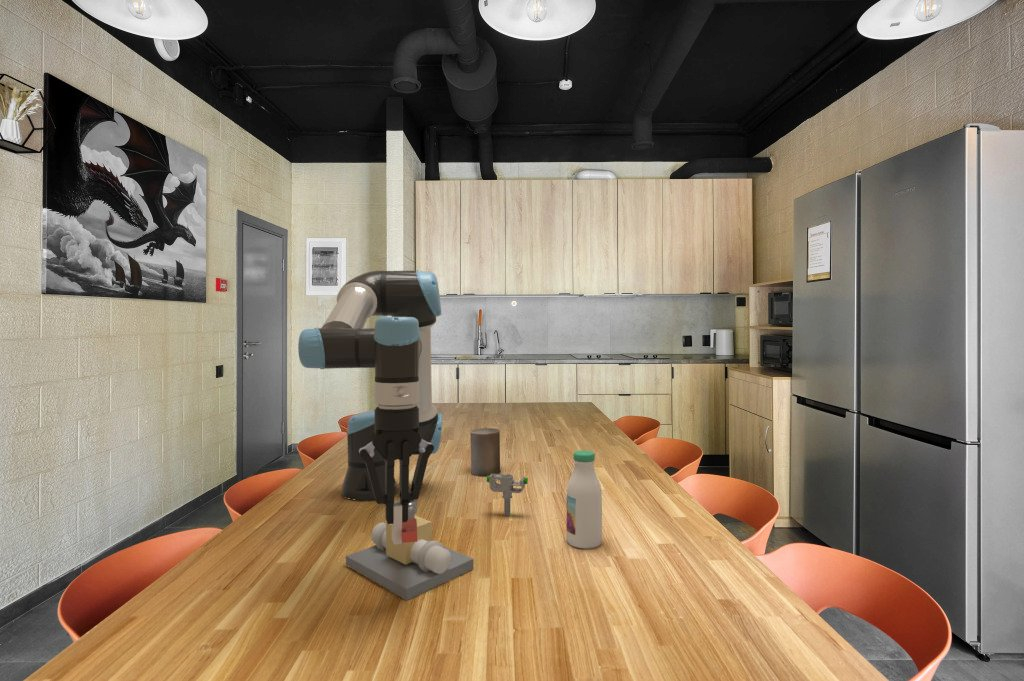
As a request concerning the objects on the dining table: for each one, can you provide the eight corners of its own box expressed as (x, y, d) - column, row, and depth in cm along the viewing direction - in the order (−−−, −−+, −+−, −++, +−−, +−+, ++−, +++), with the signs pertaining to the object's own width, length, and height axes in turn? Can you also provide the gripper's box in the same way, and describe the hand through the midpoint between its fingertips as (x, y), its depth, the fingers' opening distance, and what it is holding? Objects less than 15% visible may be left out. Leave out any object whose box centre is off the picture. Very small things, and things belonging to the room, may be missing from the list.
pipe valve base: (346, 565, 105) (345, 512, 105) (411, 541, 117) (410, 493, 117) (406, 600, 92) (406, 539, 92) (473, 568, 104) (473, 514, 104)
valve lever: (400, 510, 106) (400, 500, 106) (416, 509, 106) (416, 499, 106) (399, 543, 89) (399, 532, 89) (419, 542, 90) (419, 530, 90)
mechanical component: (526, 518, 131) (526, 478, 130) (486, 515, 133) (485, 476, 132) (528, 514, 134) (528, 475, 133) (489, 511, 136) (488, 473, 135)
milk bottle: (604, 537, 119) (604, 449, 118) (598, 551, 111) (598, 457, 111) (570, 533, 121) (570, 447, 121) (562, 547, 114) (562, 454, 113)
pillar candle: (506, 470, 174) (505, 425, 174) (489, 478, 166) (488, 430, 165) (482, 467, 179) (481, 423, 179) (464, 473, 171) (463, 427, 171)
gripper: (360, 410, 85) (360, 555, 86) (438, 407, 90) (438, 543, 91) (356, 404, 92) (356, 538, 93) (429, 401, 97) (428, 528, 98)
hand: (396, 540), depth 92 cm, fingers closed
